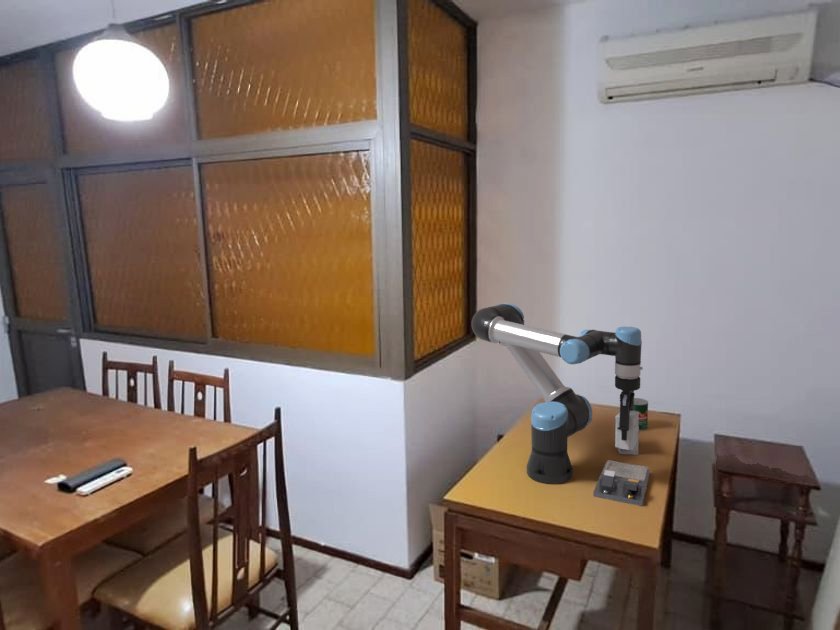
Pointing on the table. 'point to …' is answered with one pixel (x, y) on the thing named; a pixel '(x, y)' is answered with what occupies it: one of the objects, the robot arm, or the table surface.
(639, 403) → the canned tomato
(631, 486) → the block
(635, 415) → the small box
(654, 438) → the table surface
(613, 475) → the block
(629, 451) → the light bulb box
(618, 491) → the panel
